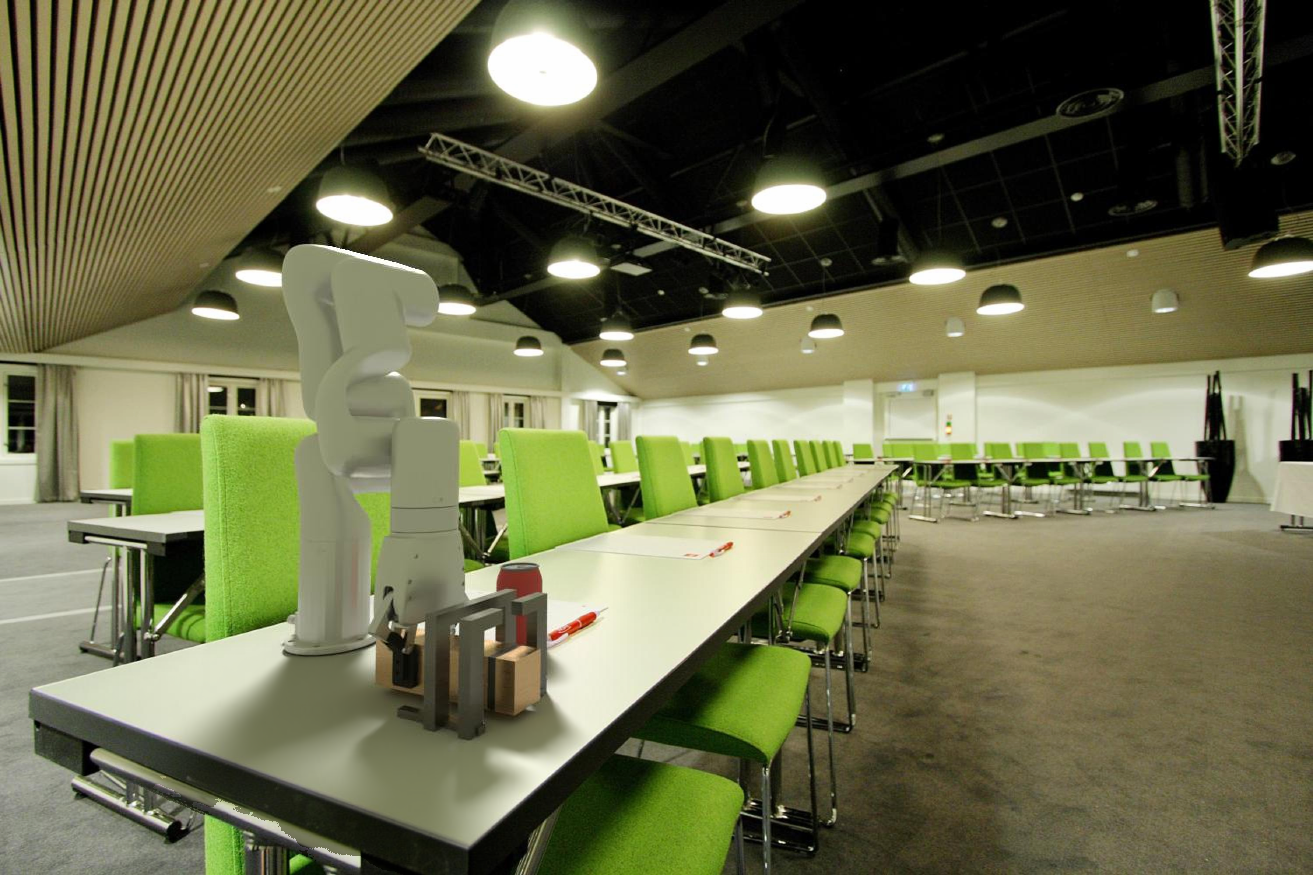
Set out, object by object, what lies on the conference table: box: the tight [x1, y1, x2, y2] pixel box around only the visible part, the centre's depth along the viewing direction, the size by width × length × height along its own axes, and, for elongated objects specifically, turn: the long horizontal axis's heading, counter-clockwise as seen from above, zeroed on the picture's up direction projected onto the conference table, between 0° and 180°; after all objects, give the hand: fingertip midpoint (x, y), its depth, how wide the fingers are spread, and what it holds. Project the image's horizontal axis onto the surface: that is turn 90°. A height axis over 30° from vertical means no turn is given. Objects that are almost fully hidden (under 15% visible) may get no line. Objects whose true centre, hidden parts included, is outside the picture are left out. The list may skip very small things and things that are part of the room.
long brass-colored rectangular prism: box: [374, 628, 541, 717], centre depth 66 cm, size 20×4×6 cm, turn 66°
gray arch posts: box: [396, 589, 548, 741], centre depth 65 cm, size 11×13×12 cm
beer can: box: [495, 561, 543, 646], centre depth 84 cm, size 7×7×12 cm
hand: (422, 676), depth 68 cm, fingers closed on long brass-colored rectangular prism, 4 cm apart
